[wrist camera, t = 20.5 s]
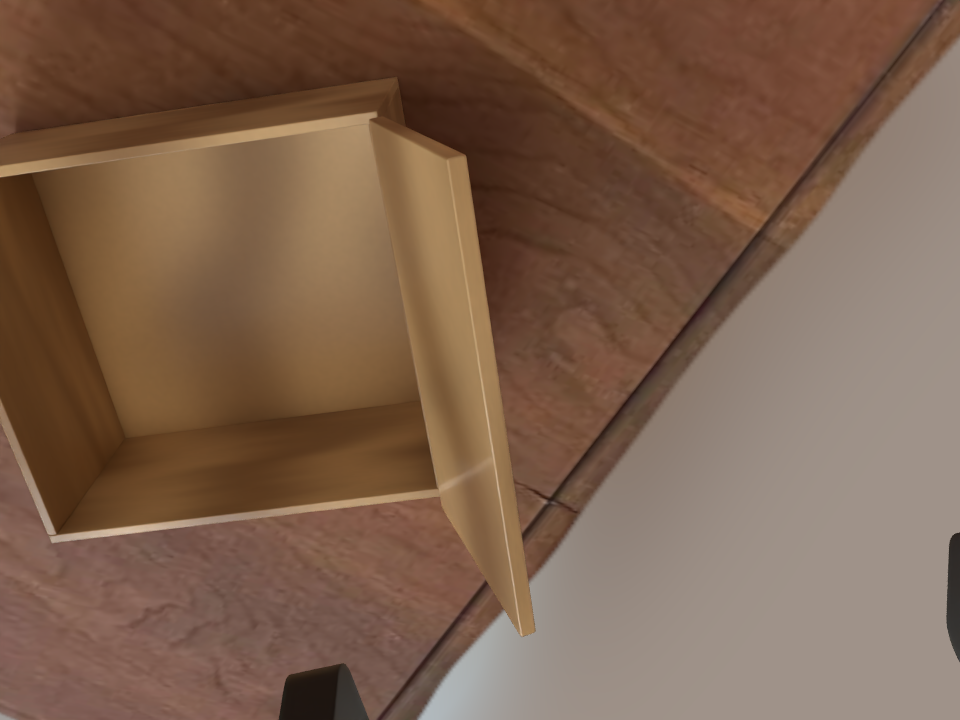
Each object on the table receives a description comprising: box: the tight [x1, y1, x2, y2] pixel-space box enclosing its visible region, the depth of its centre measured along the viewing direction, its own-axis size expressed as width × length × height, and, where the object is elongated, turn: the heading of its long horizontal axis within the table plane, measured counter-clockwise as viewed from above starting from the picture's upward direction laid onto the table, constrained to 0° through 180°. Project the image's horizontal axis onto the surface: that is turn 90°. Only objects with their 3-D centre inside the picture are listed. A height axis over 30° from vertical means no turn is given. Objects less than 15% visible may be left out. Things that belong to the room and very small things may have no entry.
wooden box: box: [0, 77, 440, 543], centre depth 28 cm, size 13×12×6 cm
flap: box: [369, 116, 536, 637], centre depth 21 cm, size 6×12×1 cm
